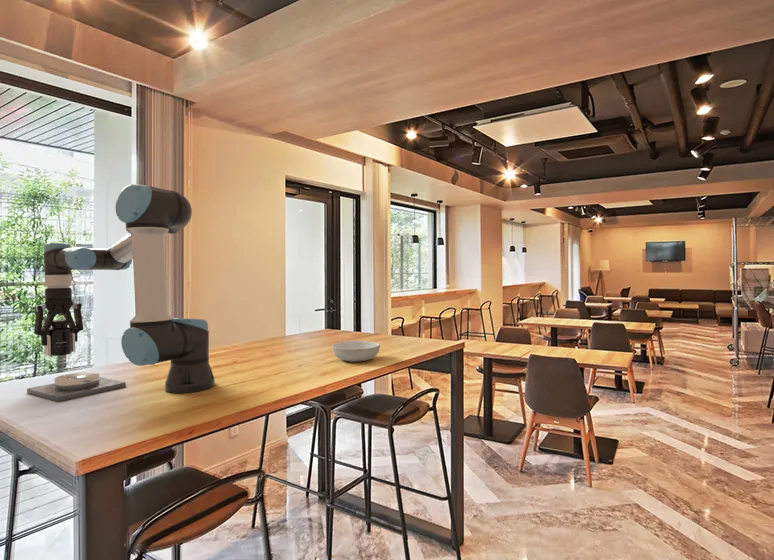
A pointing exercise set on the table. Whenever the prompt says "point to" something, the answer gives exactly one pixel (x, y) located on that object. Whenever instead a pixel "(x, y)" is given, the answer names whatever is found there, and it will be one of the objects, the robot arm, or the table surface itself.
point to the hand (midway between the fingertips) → (60, 352)
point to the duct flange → (75, 386)
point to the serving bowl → (356, 350)
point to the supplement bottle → (60, 338)
